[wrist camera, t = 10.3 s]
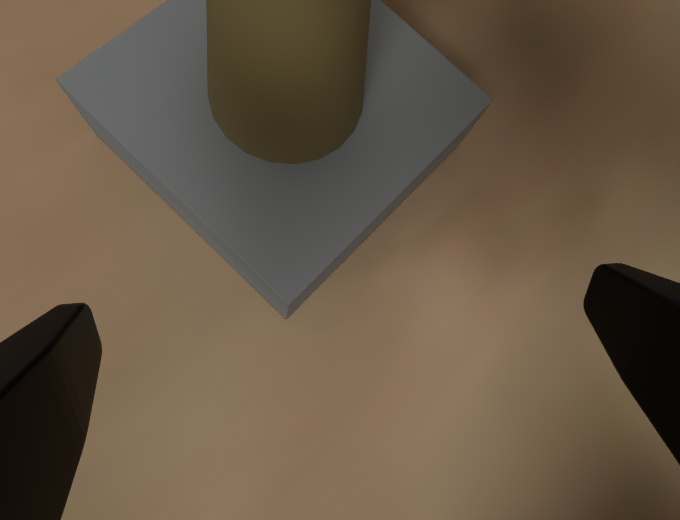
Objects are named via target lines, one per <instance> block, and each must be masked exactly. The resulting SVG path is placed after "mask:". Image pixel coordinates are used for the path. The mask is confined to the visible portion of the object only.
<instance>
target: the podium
mask: <svg viewBox="0 0 680 520" xmlns="http://www.w3.org/2000/svg"><path fill="white" fill-rule="evenodd" d="M55 80H56V81H57V83H58V84H59V85H60V87H61V88H62V89H63V91H64V92H65V93H66V95H67V96H68V97H69V99H70V100H71V101H72V103H73V104H74V106H75V107H76V108H77V110H78V111H79V112H80V114H81V115H82V116H83V118H84V119H85V120H86V122H87V123H88V124H89V126H90V127H91V128H92V130H93V131H94V133H95V134H96V135H97V136H98V137H99V138H100V139H101V140H102V141H103V142H104V143H106V144H107V145H108V146H109V147H110V148H111V149H112V150H113V151H114V152H115V153H116V154H117V155H118V156H119V157H120V158H121V159H122V160H123V161H124V162H125V163H126V164H127V165H128V166H129V167H130V168H131V169H132V170H133V171H134V172H135V173H136V174H137V175H138V176H139V177H140V178H141V179H142V180H143V181H144V182H146V183H147V184H148V185H149V186H150V187H151V188H152V189H153V190H154V191H155V192H156V193H157V194H158V195H159V196H160V197H161V198H162V199H163V200H164V201H165V202H166V203H167V204H168V205H169V206H170V207H171V208H172V209H173V210H174V211H175V212H176V213H177V214H178V215H179V216H180V217H181V218H182V219H183V220H184V221H186V222H187V223H188V224H189V225H190V226H191V227H192V228H193V229H194V230H195V231H196V232H197V233H198V234H199V235H200V236H201V237H202V238H203V239H204V240H205V241H206V242H207V243H208V244H209V245H210V246H211V247H212V248H213V249H214V250H215V251H216V252H217V253H218V254H219V255H220V256H221V257H222V258H223V259H224V260H226V261H227V262H228V263H229V264H230V265H231V266H232V267H233V268H234V269H235V270H236V271H237V272H238V273H239V274H240V275H241V276H242V277H243V278H244V279H245V280H246V281H247V282H248V283H249V284H250V285H251V286H252V287H253V288H254V289H255V290H256V291H257V292H258V293H259V294H260V295H261V296H262V297H263V298H264V299H265V300H267V301H268V302H269V303H270V304H271V305H272V306H273V307H274V308H275V309H276V310H277V311H278V312H279V313H280V314H281V315H282V316H283V317H284V318H285V319H287V318H288V317H289V316H290V315H291V314H292V313H293V312H294V311H295V310H296V309H297V308H298V307H299V306H300V305H301V304H302V303H303V302H304V301H305V300H306V299H307V298H308V297H309V296H310V295H311V294H312V293H313V292H314V291H315V290H316V289H317V288H318V287H319V286H320V285H321V284H322V283H323V282H324V281H325V280H326V279H327V278H328V277H329V276H330V275H331V274H332V273H333V272H334V271H335V270H336V269H337V268H338V267H339V266H340V265H341V264H342V263H343V262H344V261H345V260H346V258H347V257H348V256H349V255H350V254H351V253H352V252H353V251H354V250H355V249H356V248H357V247H358V246H359V245H360V244H361V243H362V242H363V241H364V240H365V239H366V238H367V237H368V236H369V235H370V234H371V233H372V232H373V231H374V230H375V229H376V228H377V227H378V226H379V225H380V224H381V223H382V222H383V221H384V220H385V219H386V218H387V217H388V216H389V215H390V214H391V213H392V212H393V211H394V210H395V209H396V208H397V207H398V206H399V205H400V204H401V203H402V202H403V201H404V200H405V199H406V198H407V197H408V196H409V195H410V194H411V193H412V192H413V191H414V190H415V189H416V188H417V187H418V186H419V185H420V183H421V182H422V181H423V180H424V179H425V178H426V177H427V176H428V175H429V174H430V173H431V172H432V171H433V170H434V169H435V168H436V167H437V166H438V165H439V164H440V163H441V162H442V161H443V160H444V159H445V158H446V157H447V156H448V155H449V154H450V153H451V152H452V151H453V150H454V149H455V148H456V147H457V146H458V145H459V144H460V142H461V141H462V140H463V138H464V137H465V136H466V135H467V133H468V132H469V131H470V129H471V128H472V127H473V125H474V124H475V123H476V122H477V120H478V119H479V118H480V116H481V115H482V114H483V112H484V111H485V110H486V109H487V107H488V106H489V105H490V103H491V102H492V101H493V99H492V98H491V97H490V96H488V95H487V94H486V93H485V92H484V91H483V90H482V89H481V88H479V87H478V86H477V85H476V84H475V83H474V82H473V81H472V80H470V79H469V78H468V77H467V76H466V75H465V74H464V73H462V72H461V71H460V70H459V69H458V68H457V67H456V66H455V65H453V64H452V63H451V62H450V61H449V60H448V59H447V58H446V57H444V56H443V55H442V54H441V53H440V52H439V51H438V50H436V49H435V48H434V47H433V46H432V45H431V44H430V43H429V42H427V41H426V40H425V39H424V38H423V37H422V36H421V35H419V34H418V33H417V32H416V31H415V30H414V29H413V28H412V27H410V26H409V25H408V24H407V23H406V22H405V21H404V20H403V19H401V18H400V17H399V16H398V15H397V14H396V13H395V12H393V11H392V10H391V9H390V8H389V7H388V6H387V5H386V4H384V3H383V2H382V1H381V0H371V10H370V22H369V35H368V47H367V59H366V72H365V84H364V96H363V109H362V113H361V116H360V118H359V121H358V123H357V126H356V128H355V131H354V132H353V133H352V134H351V136H350V137H349V138H348V139H347V140H346V141H345V142H344V143H343V145H342V146H341V147H340V148H338V149H337V150H335V151H333V152H331V153H329V154H328V155H326V156H324V157H322V158H321V159H318V160H313V161H309V162H304V163H299V164H285V163H273V162H268V161H265V160H263V159H260V158H258V157H255V156H252V155H250V154H247V153H245V152H244V151H243V150H241V149H240V148H239V147H238V146H236V145H235V144H234V143H233V142H231V141H230V140H229V139H227V138H226V136H225V135H224V133H223V132H222V130H221V129H220V127H219V126H218V124H217V123H216V121H215V120H214V118H213V115H212V111H211V107H210V104H209V100H208V89H207V12H206V0H167V1H166V2H165V3H163V4H162V5H160V6H159V7H157V8H156V9H155V10H153V11H152V12H150V13H149V14H148V15H146V16H145V17H143V18H142V19H140V20H139V21H138V22H136V23H135V24H133V25H132V26H130V27H129V28H128V29H126V30H125V31H123V32H122V33H121V34H119V35H118V36H116V37H115V38H113V39H112V40H111V41H109V42H108V43H106V44H105V45H103V46H102V47H101V48H99V49H98V50H96V51H95V52H94V53H92V54H91V55H89V56H88V57H86V58H85V59H84V60H82V61H81V62H79V63H78V64H76V65H75V66H74V67H72V68H71V69H69V70H68V71H67V72H65V73H64V74H62V75H61V76H59V77H58V78H57V79H55Z"/></svg>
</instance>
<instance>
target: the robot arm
mask: <svg viewBox="0 0 680 520" xmlns="http://www.w3.org/2000/svg"><path fill="white" fill-rule="evenodd" d="M583 305H584V310H585V313H586V315H587V317H588V319H589V321H590V323H591V325H592V326H593V328H594V330H595V332H596V334H597V335H598V337H599V339H600V341H601V343H602V345H603V346H604V348H605V350H606V352H607V354H608V356H609V357H610V359H611V361H612V363H613V365H614V367H615V368H616V370H617V372H618V374H619V375H620V377H621V379H622V380H623V382H624V384H625V385H626V387H627V388H628V390H629V391H630V393H631V394H632V396H633V397H634V399H635V400H636V402H637V403H638V404H639V406H640V407H641V409H642V410H643V412H644V413H645V415H646V416H647V418H648V419H649V421H650V422H651V424H652V425H653V426H654V428H655V429H656V431H657V432H658V434H659V435H660V437H661V438H662V440H663V441H664V443H665V444H666V446H667V447H668V448H669V450H670V451H671V453H672V454H673V456H674V457H675V459H676V460H677V462H678V463H679V465H680V283H678V282H675V281H672V280H669V279H666V278H663V277H660V276H657V275H655V274H652V273H649V272H646V271H643V270H640V269H637V268H634V267H631V266H628V265H625V264H622V263H612V264H601V265H599V266H597V267H596V269H595V270H594V272H593V275H592V278H591V280H590V283H589V286H588V289H587V292H586V295H585V298H584V304H583ZM101 356H102V345H101V340H100V337H99V334H98V331H97V327H96V324H95V321H94V318H93V315H92V312H91V309H90V308H89V306H88V305H87V304H85V303H72V304H61V305H58V306H56V307H54V308H53V309H51V310H50V311H48V312H47V313H45V314H43V315H42V316H40V317H39V318H37V319H36V320H34V321H33V322H31V323H30V324H28V325H27V326H25V327H24V328H22V329H20V330H19V331H17V332H16V333H14V334H13V335H11V336H10V337H8V338H7V339H5V340H4V341H2V342H1V343H0V520H61V517H62V514H63V511H64V508H65V505H66V501H67V498H68V495H69V492H70V489H71V486H72V482H73V479H74V476H75V473H76V470H77V467H78V464H79V460H80V457H81V454H82V451H83V447H84V444H85V440H86V435H87V431H88V426H89V421H90V415H91V410H92V405H93V399H94V394H95V389H96V383H97V378H98V373H99V367H100V362H101Z"/></svg>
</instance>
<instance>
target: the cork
mask: <svg viewBox="0 0 680 520" xmlns="http://www.w3.org/2000/svg"><path fill="white" fill-rule="evenodd" d="M370 10H371V0H206V12H207V89H208V100H209V104H210V107H211V111H212V115H213V118H214V120H215V121H216V123H217V124H218V126H219V127H220V129H221V130H222V132H223V133H224V135H225V136H226V138H227V139H229V140H230V141H231V142H233V143H234V144H235V145H236V146H238V147H239V148H240V149H241V150H243V151H244V152H245V153H247V154H250V155H252V156H255V157H258V158H260V159H263V160H265V161H268V162H273V163H285V164H299V163H304V162H309V161H313V160H318V159H321V158H322V157H324V156H326V155H328V154H329V153H331V152H333V151H335V150H337V149H338V148H340V147H341V146H342V145H343V143H344V142H345V141H346V140H347V139H348V138H349V137H350V136H351V134H352V133H353V132H354V131H355V128H356V126H357V123H358V121H359V118H360V116H361V113H362V109H363V96H364V84H365V72H366V59H367V47H368V35H369V22H370Z"/></svg>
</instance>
